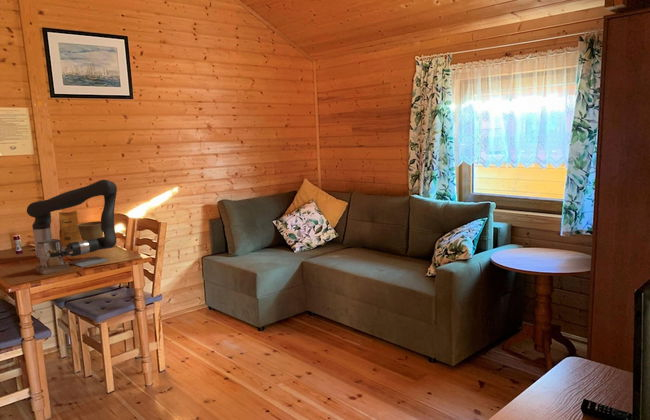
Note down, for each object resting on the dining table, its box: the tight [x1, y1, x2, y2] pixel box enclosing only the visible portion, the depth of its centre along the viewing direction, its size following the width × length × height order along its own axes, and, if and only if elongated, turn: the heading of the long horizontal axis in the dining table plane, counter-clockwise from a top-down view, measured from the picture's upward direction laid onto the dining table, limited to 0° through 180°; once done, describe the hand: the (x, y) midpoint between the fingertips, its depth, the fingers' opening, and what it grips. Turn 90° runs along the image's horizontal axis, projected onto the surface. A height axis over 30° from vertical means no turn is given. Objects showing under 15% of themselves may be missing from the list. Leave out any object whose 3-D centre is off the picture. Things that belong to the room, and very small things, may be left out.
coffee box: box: [37, 238, 65, 268], centre depth 261 cm, size 9×6×16 cm
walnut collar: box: [35, 261, 71, 275], centre depth 262 cm, size 10×13×3 cm
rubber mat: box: [68, 256, 109, 268], centre depth 276 cm, size 15×15×1 cm
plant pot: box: [77, 220, 104, 241], centre depth 309 cm, size 15×15×16 cm
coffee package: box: [58, 209, 82, 247], centre depth 323 cm, size 10×12×22 cm
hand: (47, 254), depth 259 cm, fingers open, 8 cm apart
